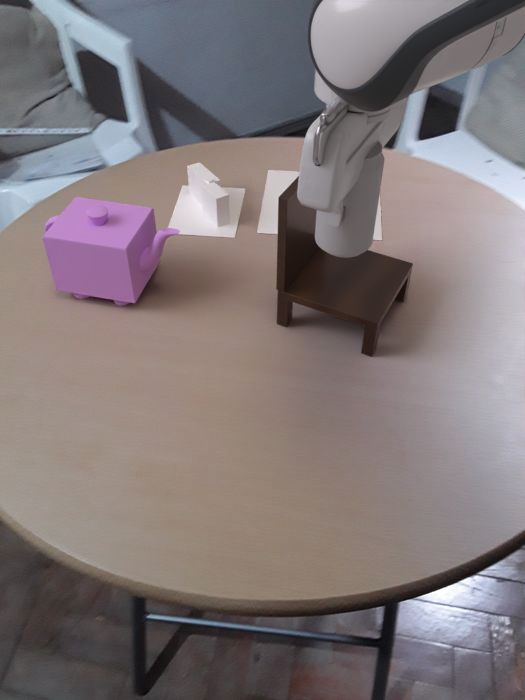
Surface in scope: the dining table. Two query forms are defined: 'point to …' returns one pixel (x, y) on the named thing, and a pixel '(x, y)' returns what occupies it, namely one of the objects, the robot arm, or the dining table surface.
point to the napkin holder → (206, 205)
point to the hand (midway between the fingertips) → (348, 204)
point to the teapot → (104, 249)
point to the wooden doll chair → (333, 274)
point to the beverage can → (355, 213)
